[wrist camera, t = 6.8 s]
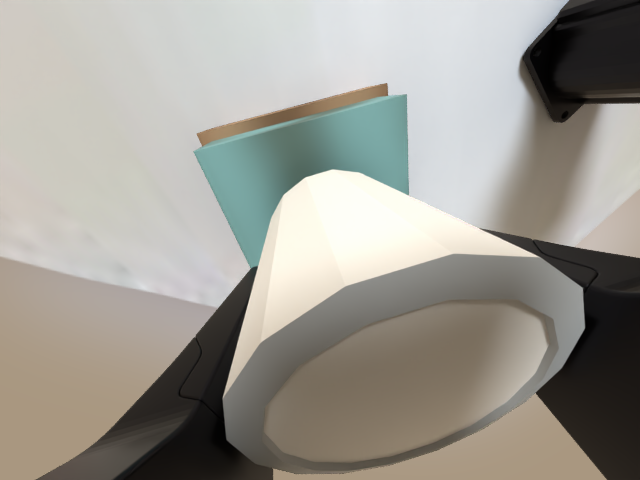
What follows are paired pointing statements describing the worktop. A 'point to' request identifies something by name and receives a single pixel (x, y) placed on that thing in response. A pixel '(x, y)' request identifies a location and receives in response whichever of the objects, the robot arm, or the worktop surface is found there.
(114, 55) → the worktop surface
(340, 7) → the worktop surface
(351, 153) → the teal and brown block
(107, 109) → the worktop surface
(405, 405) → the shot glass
